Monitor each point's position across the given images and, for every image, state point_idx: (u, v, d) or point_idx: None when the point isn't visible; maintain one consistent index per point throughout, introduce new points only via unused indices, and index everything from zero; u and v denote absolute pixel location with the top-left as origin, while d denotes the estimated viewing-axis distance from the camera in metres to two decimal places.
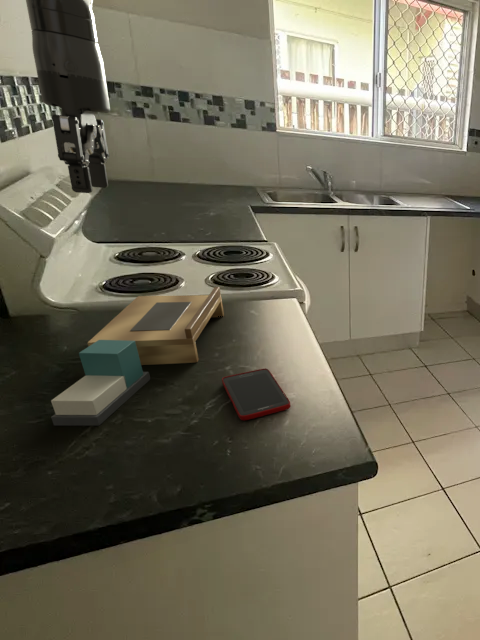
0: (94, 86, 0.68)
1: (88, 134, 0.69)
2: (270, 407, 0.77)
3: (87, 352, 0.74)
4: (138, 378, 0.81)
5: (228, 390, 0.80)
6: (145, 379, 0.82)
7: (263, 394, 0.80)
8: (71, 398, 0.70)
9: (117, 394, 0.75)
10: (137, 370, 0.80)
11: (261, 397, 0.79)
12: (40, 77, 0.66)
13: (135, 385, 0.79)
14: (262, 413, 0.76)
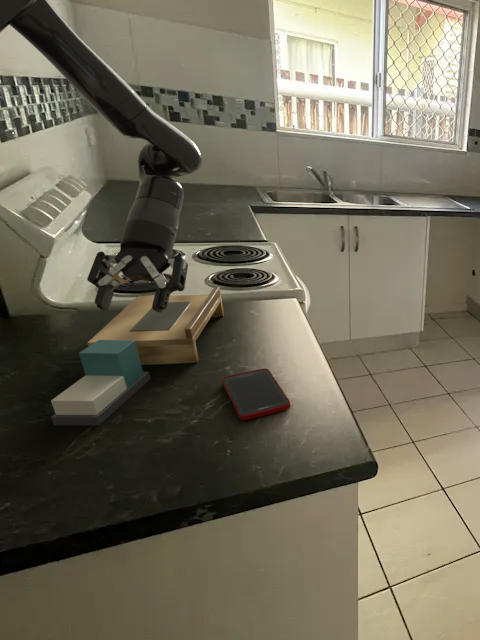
0: None
1: None
2: (270, 407, 0.77)
3: (87, 352, 0.74)
4: (138, 378, 0.81)
5: (228, 390, 0.80)
6: (145, 379, 0.82)
7: (263, 394, 0.80)
8: (71, 398, 0.70)
9: (117, 394, 0.75)
10: (137, 370, 0.80)
11: (261, 397, 0.79)
12: (155, 227, 0.84)
13: (135, 385, 0.79)
14: (262, 413, 0.76)
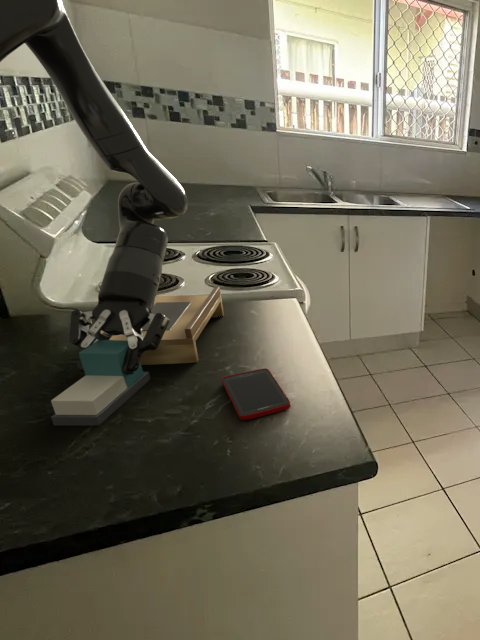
0: None
1: None
2: (270, 407, 0.77)
3: (87, 352, 0.74)
4: (138, 378, 0.81)
5: (228, 390, 0.80)
6: (145, 379, 0.82)
7: (263, 394, 0.80)
8: (71, 398, 0.70)
9: (117, 394, 0.75)
10: (137, 370, 0.80)
11: (261, 397, 0.79)
12: (135, 278, 0.79)
13: (135, 385, 0.79)
14: (262, 413, 0.76)
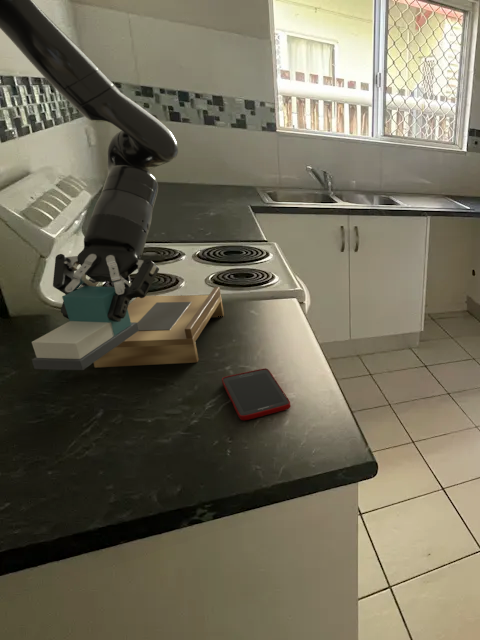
0: None
1: None
2: (270, 407, 0.77)
3: (71, 296, 0.71)
4: (126, 327, 0.77)
5: (228, 390, 0.80)
6: (133, 329, 0.78)
7: (263, 394, 0.80)
8: (53, 340, 0.66)
9: (102, 341, 0.71)
10: (124, 319, 0.76)
11: (261, 397, 0.79)
12: (123, 222, 0.76)
13: (122, 334, 0.76)
14: (262, 413, 0.76)
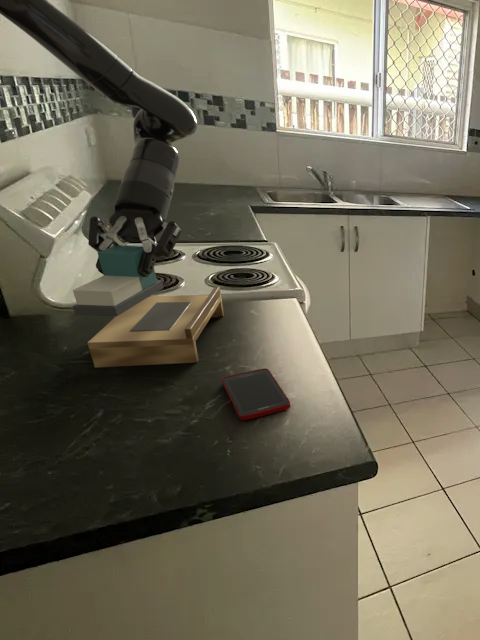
0: None
1: None
2: (270, 407, 0.77)
3: (105, 252, 0.79)
4: (153, 283, 0.85)
5: (228, 390, 0.80)
6: (158, 286, 0.86)
7: (263, 394, 0.80)
8: (92, 289, 0.74)
9: (133, 292, 0.80)
10: (151, 275, 0.85)
11: (261, 397, 0.79)
12: (149, 188, 0.84)
13: (149, 289, 0.84)
14: (262, 413, 0.76)
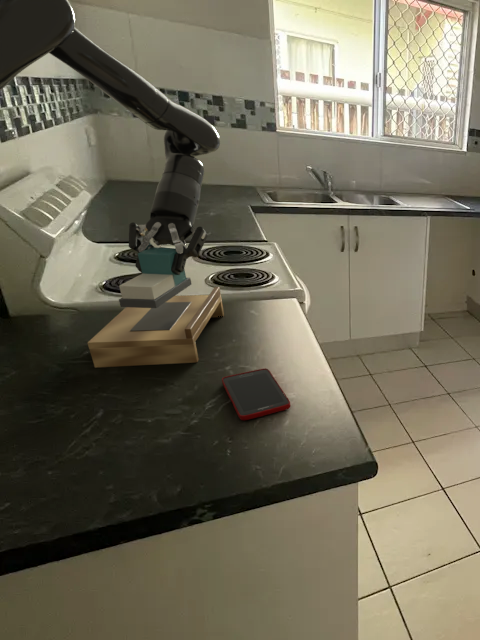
0: None
1: None
2: (270, 407, 0.77)
3: (144, 253, 0.92)
4: (183, 280, 0.98)
5: (228, 390, 0.80)
6: (187, 283, 0.99)
7: (263, 394, 0.80)
8: (135, 285, 0.87)
9: (168, 288, 0.92)
10: (182, 274, 0.97)
11: (261, 397, 0.79)
12: (180, 198, 0.97)
13: (181, 285, 0.96)
14: (262, 413, 0.76)
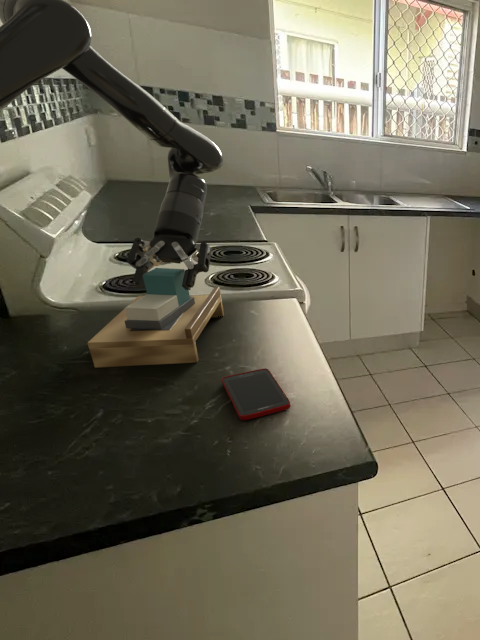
0: None
1: (188, 256, 1.00)
2: (270, 407, 0.77)
3: (149, 274, 0.93)
4: (187, 300, 1.00)
5: (228, 390, 0.80)
6: (191, 302, 1.01)
7: (263, 394, 0.80)
8: (140, 306, 0.89)
9: (172, 309, 0.94)
10: (186, 293, 0.99)
11: (261, 397, 0.79)
12: (184, 216, 0.98)
13: (184, 305, 0.98)
14: (262, 413, 0.76)
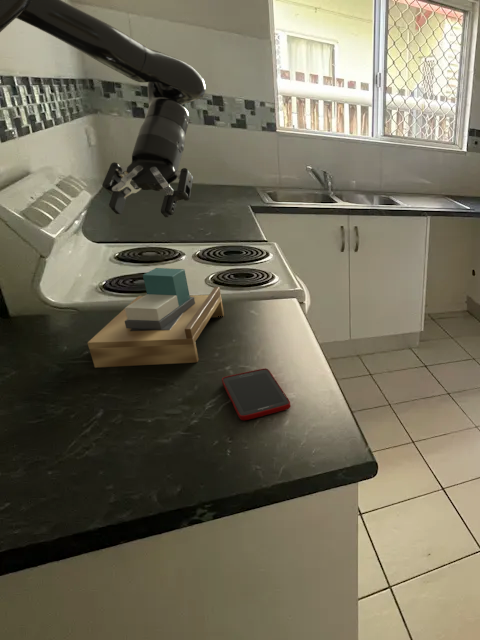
0: None
1: (168, 184, 0.95)
2: (270, 407, 0.77)
3: (149, 274, 0.93)
4: (187, 300, 1.00)
5: (228, 390, 0.80)
6: (191, 302, 1.01)
7: (263, 394, 0.80)
8: (140, 306, 0.89)
9: (172, 309, 0.94)
10: (186, 293, 0.99)
11: (261, 397, 0.79)
12: (163, 141, 0.93)
13: (184, 305, 0.98)
14: (262, 413, 0.76)
